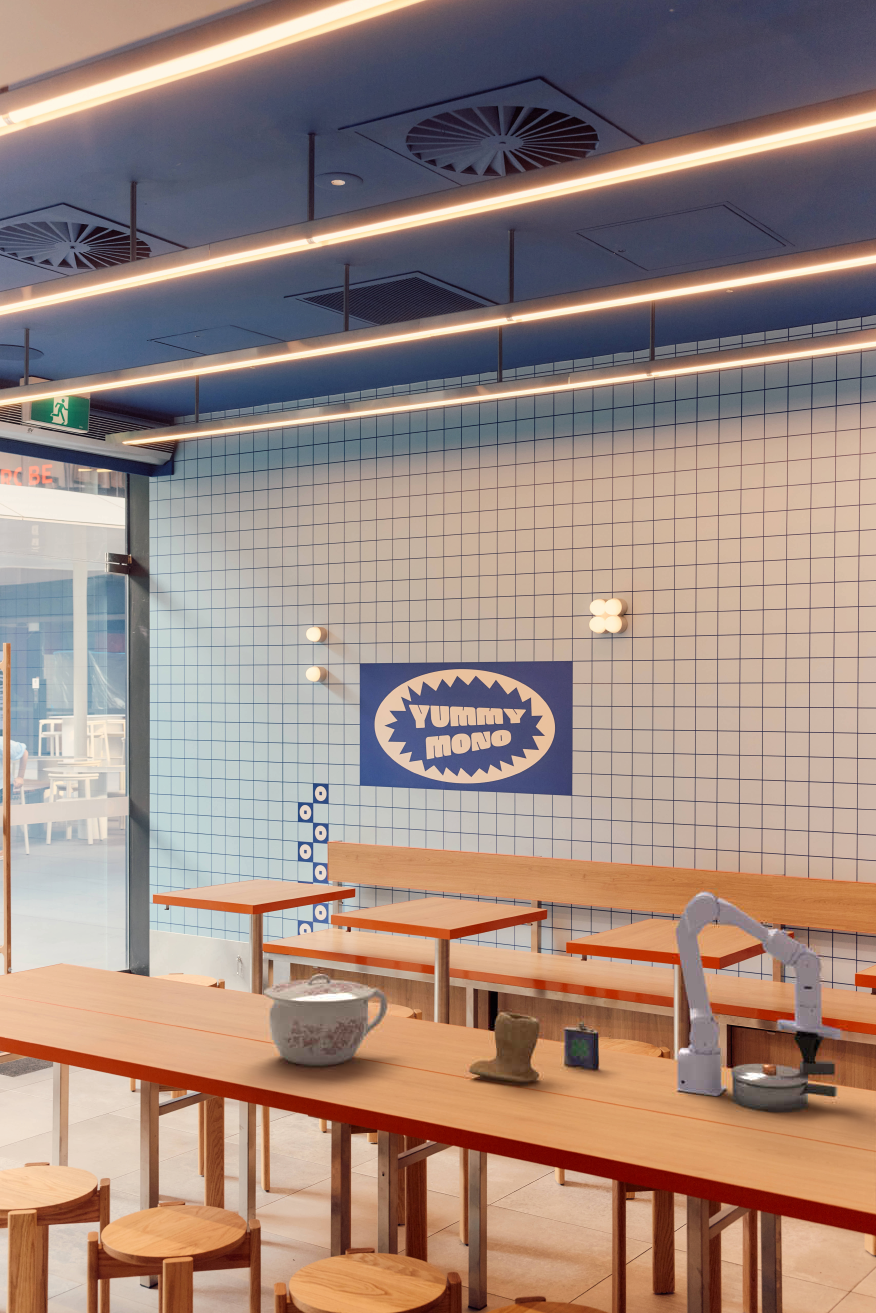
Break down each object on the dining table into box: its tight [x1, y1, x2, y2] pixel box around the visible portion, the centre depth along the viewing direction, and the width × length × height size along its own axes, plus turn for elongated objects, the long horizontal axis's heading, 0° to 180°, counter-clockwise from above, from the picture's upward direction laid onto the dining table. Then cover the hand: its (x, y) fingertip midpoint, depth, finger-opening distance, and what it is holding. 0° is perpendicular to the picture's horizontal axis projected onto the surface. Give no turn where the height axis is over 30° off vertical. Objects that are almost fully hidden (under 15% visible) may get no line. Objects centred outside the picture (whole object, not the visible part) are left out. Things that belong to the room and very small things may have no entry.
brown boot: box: [468, 1012, 540, 1083], centre depth 285 cm, size 15×12×15 cm
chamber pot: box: [263, 973, 388, 1067], centre depth 301 cm, size 28×28×21 cm
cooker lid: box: [730, 1060, 836, 1088], centre depth 268 cm, size 22×16×3 cm
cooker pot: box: [731, 1076, 838, 1113], centre depth 266 cm, size 22×16×5 cm
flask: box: [563, 1021, 600, 1071], centre depth 297 cm, size 9×3×11 cm, turn 55°
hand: (809, 1067), depth 271 cm, fingers closed
